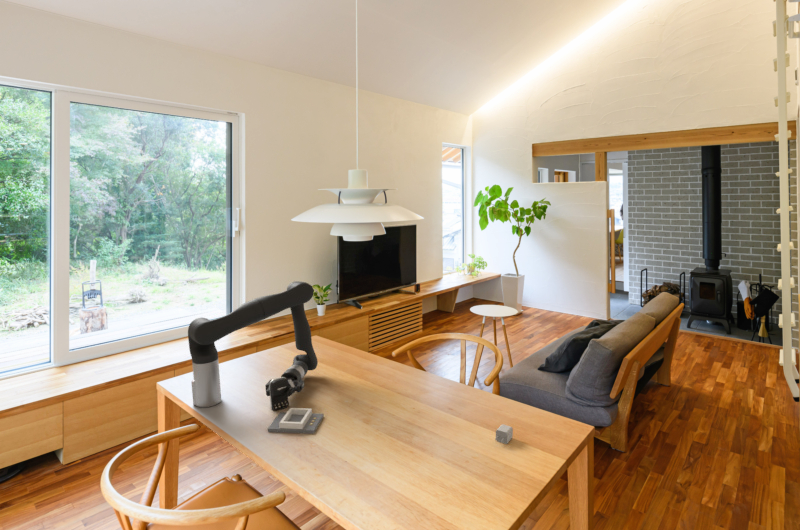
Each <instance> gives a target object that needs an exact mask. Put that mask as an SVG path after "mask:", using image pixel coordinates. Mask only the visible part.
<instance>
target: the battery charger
mask: <svg viewBox="0 0 800 530" xmlns="http://www.w3.org/2000/svg"><path fill="white" fill-rule="evenodd" d="M270 380H271V379H270ZM270 380H269V381H270ZM288 390H289V381H288V380H287V379H286V378H285V377H281V376H279V377H277V378H273V380H271V381H270V383H269V393H270V396H269V399H270V400H269V401H270V409H271V410H272V411H279V410H282V409H286V408H287V407H289V406H290V404H289V403H290V402H289V397H287V391H288Z"/></svg>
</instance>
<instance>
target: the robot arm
mask: <svg viewBox="0 0 800 530" xmlns="http://www.w3.org/2000/svg"><path fill="white" fill-rule="evenodd" d="M314 291H315V290H314V287H313V286H312V285H311V284H310V283H308V282H304V281H295V280H294V281H292V282H291V283H289V284H288V285H287V287H286V290H284V291H282V292H278V293H275V294H269V295H264V296H259V297H257V298H254V299H253V298H252V299H251V300H249V301H246V302H244V303H242V304H241V305H239V306H238V307H237V308H235V309H234V310H232V311H231V312H230V313H228V314H226V315H223V316H221V317H218V318H215V319H211V320H210V319H208V318H206V317H197V318H195V319H193V320H192V321H191V322H190V323H189V325H188V328H187V337H188V338H187V339H188V347H189V348H188V349H189V353H190V356H191V364H192V376H193V380H192V381H191V393H192V405H193V406H197V407H198V408H208V407H213V406H216V405H219V404H220V403H221V402H222V393H221V391H222V390H221V378H220V377H221V376H220V365H219V352H218V350H217V347H216V344H215V342H217V341H219V340H221V339H222V338H225V337H226V336H228V335H231V334H232V333H233V332H236V331H240V330H241V329H244V328H246V327H247V328H248V327H249V326H251V325H255V324H256V323H259V322H261V321H263V320H266V319H268V318H271V317H272V316H274V315H277V314H279V313H281V312H283V311H284V310H287V309H290V313H291V317H292V323H293V324H292V325H293V329H294V341H295V348H296V350H299V351H302V352H305V354H297V355H295V356H294V357H293V360H292V365H291V366H290V367H288V368H287V369H286V370H285V371H284V372H283V373H282V374H281V376H280V377H285V378H286V379H287V380H288V381H289V390H288V391H287V397H288V398H290V397H291V396H293V394H295V393H301V391H302V390H303V389H304V388H305V380H304V378H305V376H306V375H307V373H308V371H314V370H316V369H317V367H318V363H319V361H318V357H317V354H316V353H315V350H314V346H313V341H312V331H311V326H310V324H309V320H308V318H307V315H306V312H305V304H307V303H308V302H310V300H312V298H313V297H314V293H315V292H314ZM273 379H274V378H273ZM273 379H271V378H270V379H269V380H268V382H266V384H265V394H266V396H267V397H270V393H269V383H270V381H271V380H273Z"/></svg>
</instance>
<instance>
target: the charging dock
mask: <svg viewBox="0 0 800 530" xmlns="http://www.w3.org/2000/svg"><path fill="white" fill-rule="evenodd" d="M323 419H324V413H321V412H320V413H319V412H318V413H316V412H315V413H314V412H313V409H312V408H304V407H289V409H288V410H287V411H280V412H279V413H278V415H277V416H276V417H275V418H274V419H273V421H272V422H271V423H270V425H269V426H268V427H267V433H283V432H286V433H289V434H309V435H311V434H313V435H314V434H315V433H316V431H317V429H318V427H319V426H318V425H320V424H321V422H322V420H323ZM286 433H285V434H286Z"/></svg>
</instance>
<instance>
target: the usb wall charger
mask: <svg viewBox="0 0 800 530" xmlns="http://www.w3.org/2000/svg"><path fill="white" fill-rule="evenodd" d="M513 429H514V428H513V427H512V426H511V425H506V424H500V426H499V427H498V428H497V429H496V430H495V438H494V439H495V440H494V441H496V442H498V443H501V444H504V445H507V444H509V442H510V441H511V440H512V439H513V435H514V433H513V432H514V430H513Z"/></svg>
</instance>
